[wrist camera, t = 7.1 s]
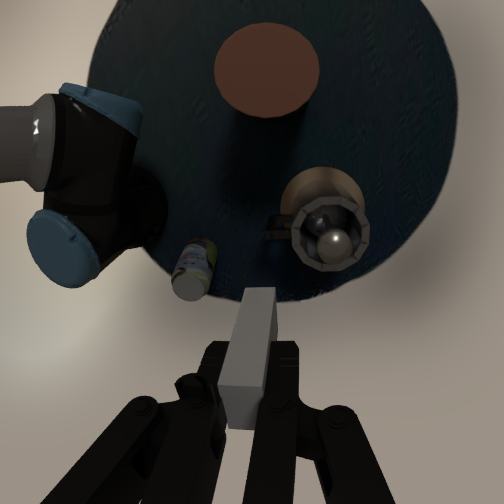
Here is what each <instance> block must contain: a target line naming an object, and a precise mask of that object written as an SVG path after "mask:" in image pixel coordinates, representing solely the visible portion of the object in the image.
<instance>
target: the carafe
mask: <svg viewBox="0 0 504 504" xmlns="http://www.w3.org/2000/svg"><path fill="white" fill-rule="evenodd" d="M335 204H340V205H341V206H343V207H345V209H346V212H347V221H346V224H345V226H344V228H343V229H342V230H344V231H345V232H346V233H347V234H348V236H349V238H350V240H351V243H352V252H351V254H350V256H349V257H348V259H347V260H345V261H344V262H342V263H340V264H329V263H326V262H324V261H323V260H322V259H321V258H320V256H319V254H318V249H317V240H318V237H317V236H315V235H313V234H312V233H311V232H310V231H309V230H308V229H307V227H306V225H305V223H304V219H305V217H306V215H307V214H308V213H310V212H311V211H313V210H315V209H316V208H318V207H319V206H321V205H335ZM284 223H291V227H288V228H276V224H284ZM369 230H370V224H369V222H368V220H367V218H366V217H365V215H364V213H363V211H362V210H361V208H360V206H359V205H358V203H357V202H356V201H355V200H354V198H353V197H352V196H351V194H350V193H349V192H348V190H347V189H346V188H345V187H344V186H342V185H340V184H338V183H336V182H335V181H333V180H331V179H323V180H313V181H311V182H309V183H308V184H306V185H305V186H303V187H301V188H300V189H299V191H298V193H297V195H296V197H295V198H294V200H293V202H292V214H272V215H270V216H269V219H268V223H267V227H266V230H265V233H266V240H270V239H292V247H293V249H294V250H295V251H296V253H297V254H298V256H299V257H300V259H301V260H302V262H303V263H304V264H307V265H309V266H311V267H313V268H315V269H317V270H319V271H341V270H343V269H345V268H347V267H348V266H350V265H352V264H354V263H355V262H357V261H358V260H359V259H360V257H361V256H362V254H363V253H364V251H365V249H366V248H367V246H368V245H369Z"/></svg>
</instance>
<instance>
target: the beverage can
mask: <svg viewBox="0 0 504 504" xmlns="http://www.w3.org/2000/svg"><path fill="white" fill-rule="evenodd" d="M217 256H218V251H217V248H216V246H215V244H214V243H213V242H212V241H210V240H209V239H207V238H204V237H195V238H192V239H190V240H189V241H188V242H187V243H186V245H185V247H184V250H183V252H182V254H181V256H180V258H179V261H178V263H177V265H176V268H175V270H174V272H173V274H172V278H171V283H172V286H173V291H174V292H175V294H176V295H177V296H178V297H179V298H181V299H183V300H185V301H196V300H199V299H200V298H201V297H203V296H204V295H205V294H206V293H207V292H208V290H209V287H210V283H211V279H212V275H213V272H214V268H215V264H216V260H217Z"/></svg>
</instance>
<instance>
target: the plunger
mask: <svg viewBox="0 0 504 504" xmlns="http://www.w3.org/2000/svg"><path fill="white" fill-rule="evenodd" d="M346 221H347V212H346V209H345V207H343V206H341V205H340V204H335V205H321V206H319V207H318V208H316V209H315V210H313V211H311V212H310V213H308V214H307V215H306V217H305V219H304V223H305V225H306V227H307V229H308V230H309V231H310V232H311V233H312V234H313V235H315V236H317V237H318V240H317V249H318V254H319V256H320V258H321V259H322V260H323V261H324V262H326V263H329V264H340V263H342V262H344V261H345V260H347V259H348V257H349V256H350V254H351V252H352V243H351V240H350V238H349V236H348V234H347V233H346V232H345V231H344V230H342V229H343V228H344V226H345V224H346Z"/></svg>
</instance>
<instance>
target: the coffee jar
mask: <svg viewBox="0 0 504 504" xmlns="http://www.w3.org/2000/svg"><path fill="white" fill-rule="evenodd" d="M214 74H215V81H216V85H217V87H218V89H219V91H220V93H221V95H222V97H223V98H224V99H225V100H226V101H227V102H228V103H229V104H230V105H231V106H232V107H233V108H235V109H237V110H239V111H241V112H243V113H245V114H247V115H249V116H253V117H258V118H262V119H267V120H272V121H279V120H286V119H289V118H291V117H294V116H296V115H297V114H298V113H299V112H301V111H302V110H303V109H304V108H305V106H306V104H307V103H308V101H309V99H310V98H311V96H312V94H313V93H314V91H315V89H316V87H317V84H318V79H319V74H320V69H319V62H318V56H317V54H316V53H315V51H314V49H313V47H312V45H311V43H310V42H309V41H308V40H307V39H306V38H305V37H303V36H302V35H301V34H300V33H299V32H297V31H295V30H293V29H291V28H289V27H287V26H285V25H280V24H274V23H260V24H252V25H249V26H247V27H245V28H242V29H240V30H238V31H236V32H235V33H234V34H233V35H231V36H230V37H229V38H228V39H227V40H226V41H225V42H224V43H223V45H222V47H221V48H220V50H219V52H218V53H217V57H216V61H215V66H214Z"/></svg>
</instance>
